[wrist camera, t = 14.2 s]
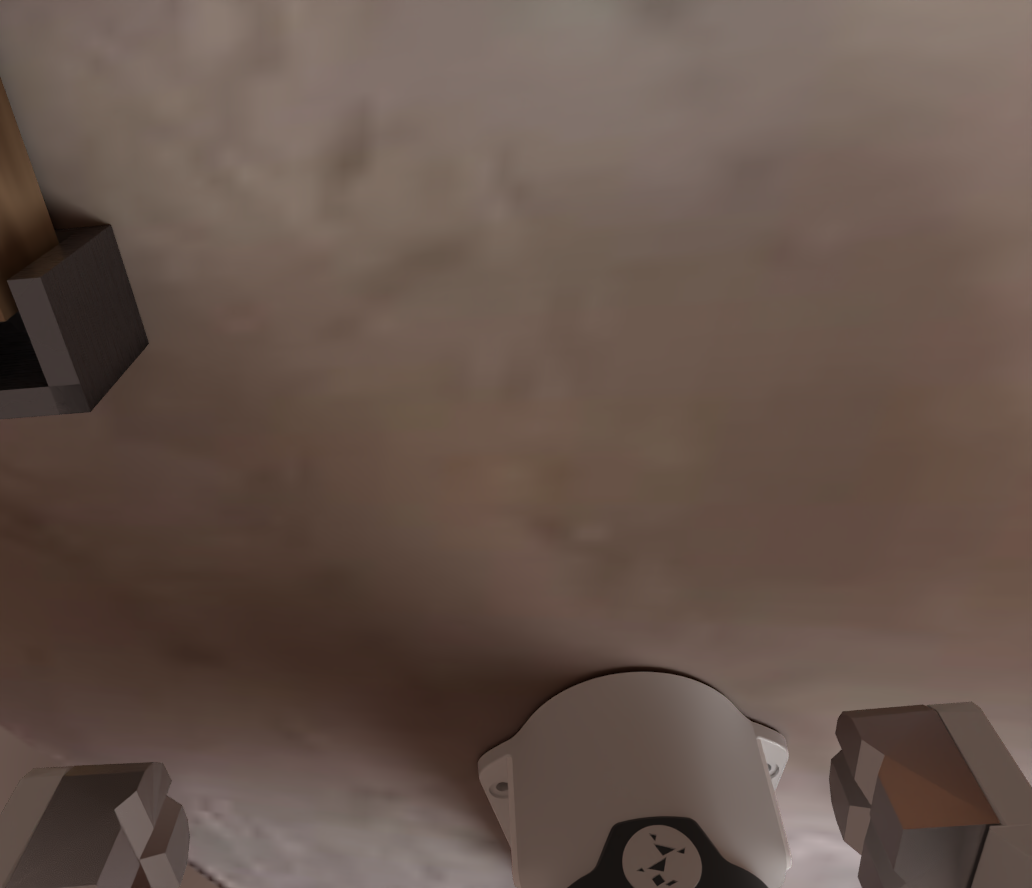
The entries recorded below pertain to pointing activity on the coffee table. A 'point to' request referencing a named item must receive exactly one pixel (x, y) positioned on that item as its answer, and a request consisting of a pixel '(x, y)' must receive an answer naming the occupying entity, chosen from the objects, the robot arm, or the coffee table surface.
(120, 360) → the endcap
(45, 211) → the slat
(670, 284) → the coffee table surface
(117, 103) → the coffee table surface
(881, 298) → the coffee table surface
